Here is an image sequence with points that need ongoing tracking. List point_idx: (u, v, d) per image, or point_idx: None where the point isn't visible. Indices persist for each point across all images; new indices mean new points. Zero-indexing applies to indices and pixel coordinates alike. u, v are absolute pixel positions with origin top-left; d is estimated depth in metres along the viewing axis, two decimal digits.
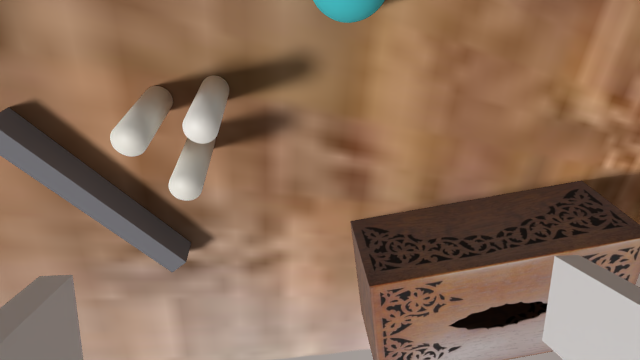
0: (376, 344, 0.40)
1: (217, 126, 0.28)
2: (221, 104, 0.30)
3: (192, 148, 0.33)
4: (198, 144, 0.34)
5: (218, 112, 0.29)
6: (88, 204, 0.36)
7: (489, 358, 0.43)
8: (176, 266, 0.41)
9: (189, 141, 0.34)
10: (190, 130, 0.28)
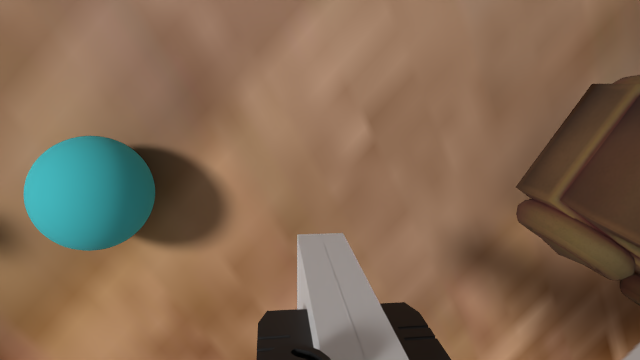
0: None
1: None
2: None
3: None
4: None
5: None
6: None
7: None
8: None
9: None
10: None
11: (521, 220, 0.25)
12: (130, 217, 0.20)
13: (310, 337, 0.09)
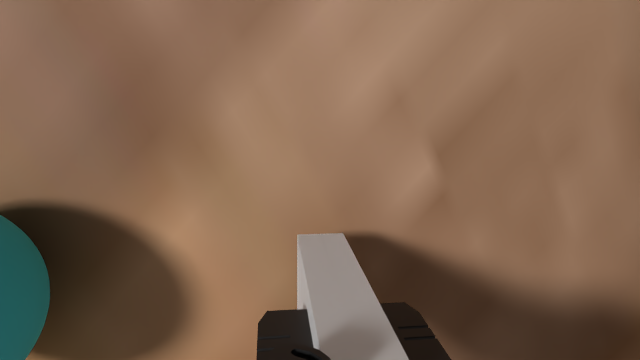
0: None
1: None
2: None
3: None
4: None
5: None
6: None
7: None
8: None
9: None
10: None
11: None
12: None
13: (310, 337, 0.09)
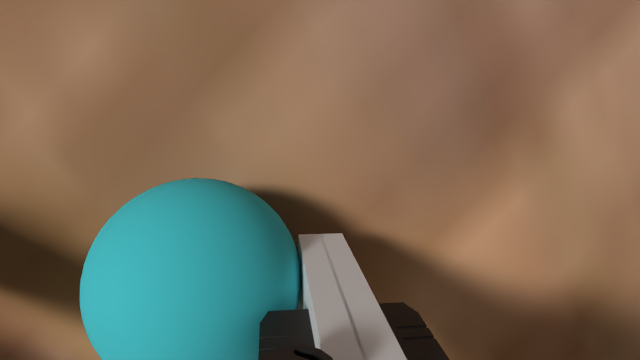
0: None
1: None
2: None
3: None
4: None
5: None
6: None
7: None
8: None
9: None
10: None
11: None
12: None
13: (312, 336, 0.09)
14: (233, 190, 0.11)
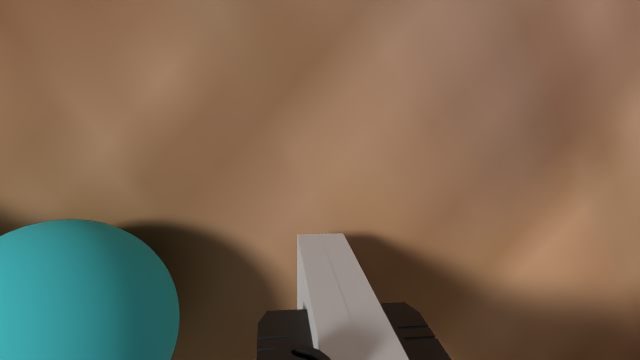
0: None
1: None
2: None
3: None
4: None
5: None
6: None
7: None
8: None
9: None
10: None
11: None
12: None
13: (310, 336, 0.09)
14: None
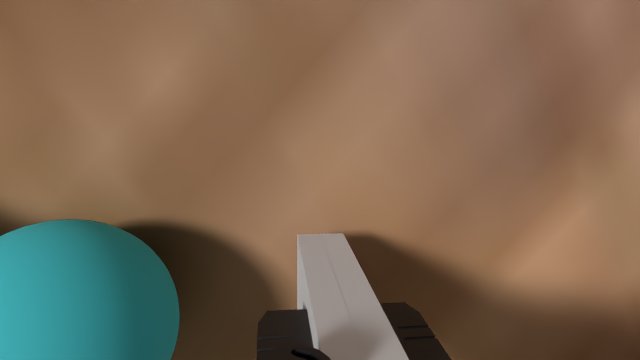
0: None
1: None
2: None
3: None
4: None
5: None
6: None
7: None
8: None
9: None
10: None
11: None
12: None
13: (310, 336, 0.09)
14: None
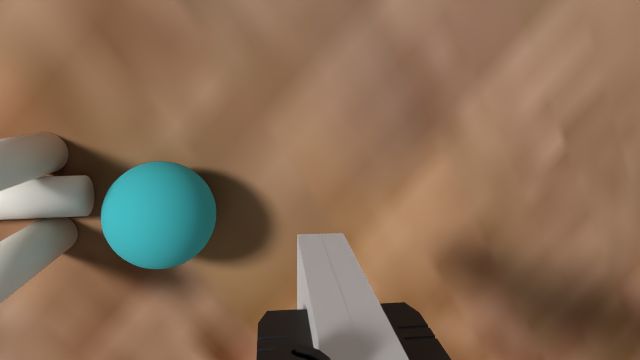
0: None
1: None
2: None
3: (27, 243, 0.21)
4: (41, 243, 0.22)
5: None
6: None
7: None
8: None
9: (34, 229, 0.22)
10: None
11: None
12: None
13: (310, 336, 0.09)
14: (140, 171, 0.21)
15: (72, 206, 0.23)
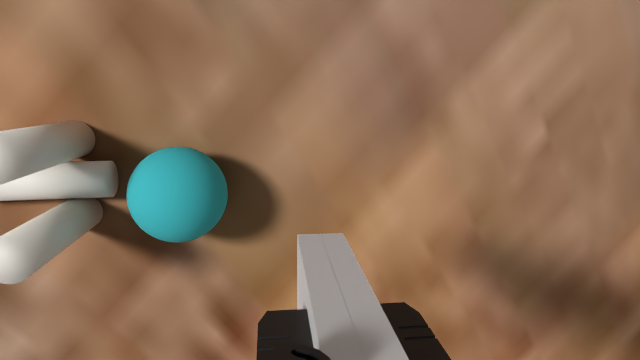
0: None
1: None
2: (16, 192, 0.25)
3: (62, 217, 0.23)
4: (74, 217, 0.24)
5: None
6: None
7: None
8: None
9: (67, 206, 0.25)
10: None
11: None
12: None
13: (310, 336, 0.09)
14: (161, 155, 0.24)
15: (100, 189, 0.26)
